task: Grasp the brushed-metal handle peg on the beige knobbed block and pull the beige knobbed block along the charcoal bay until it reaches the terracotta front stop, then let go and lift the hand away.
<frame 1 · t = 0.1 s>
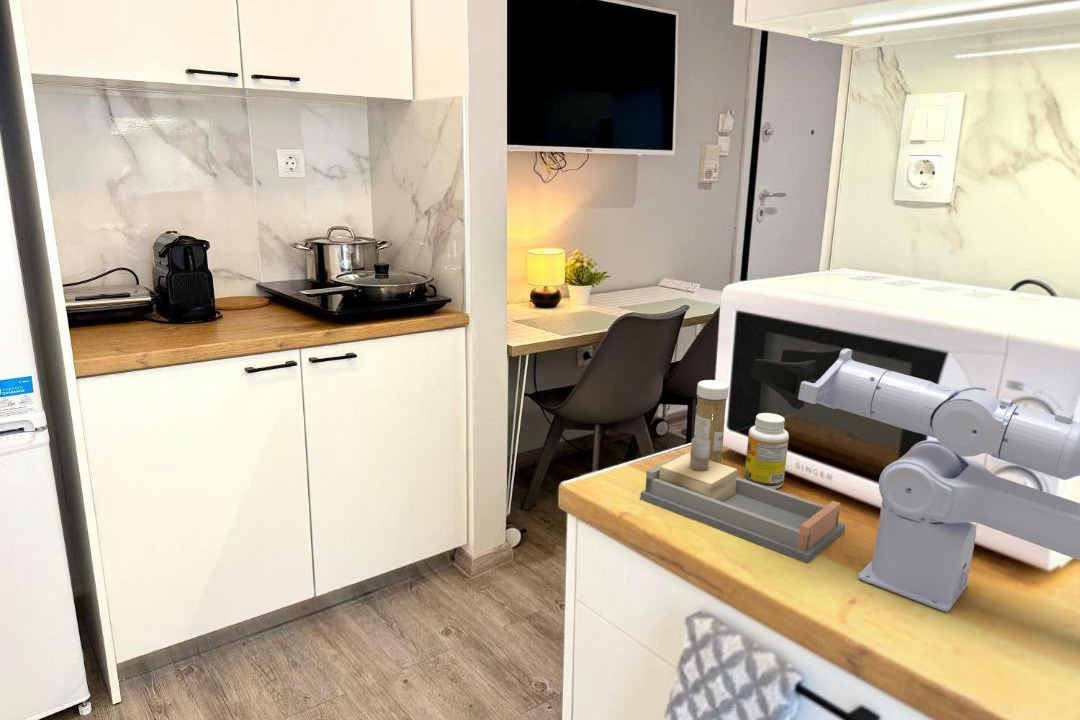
hand: (768, 362, 93), 22 cm above the worktop, tool horizontal, fingers open, 7 cm apart
supplement bottle: (763, 484, 111), on the worktop
beige knobbed block: (698, 466, 103), point 5 cm above the worktop, slide at 0.0 cm
bay: (738, 514, 100), on the worktop
brown spice jar: (705, 468, 116), on the worktop
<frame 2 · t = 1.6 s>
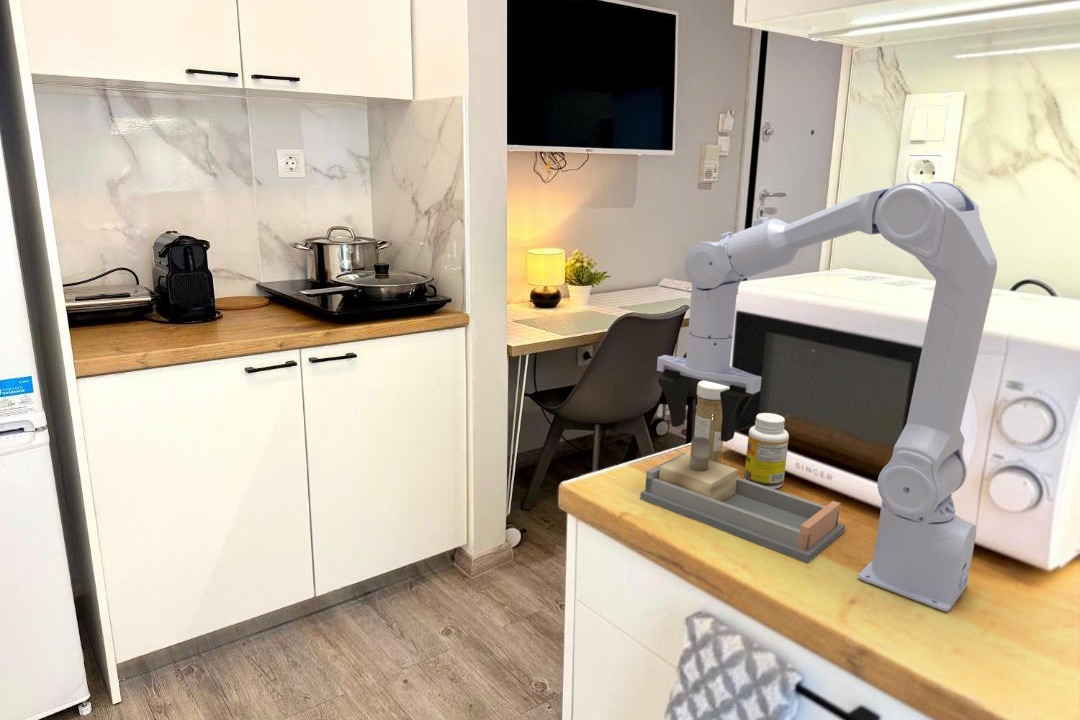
hand: (701, 432, 102), 10 cm above the worktop, tool pointing down, fingers open, 7 cm apart
nothing on the worktop moved.
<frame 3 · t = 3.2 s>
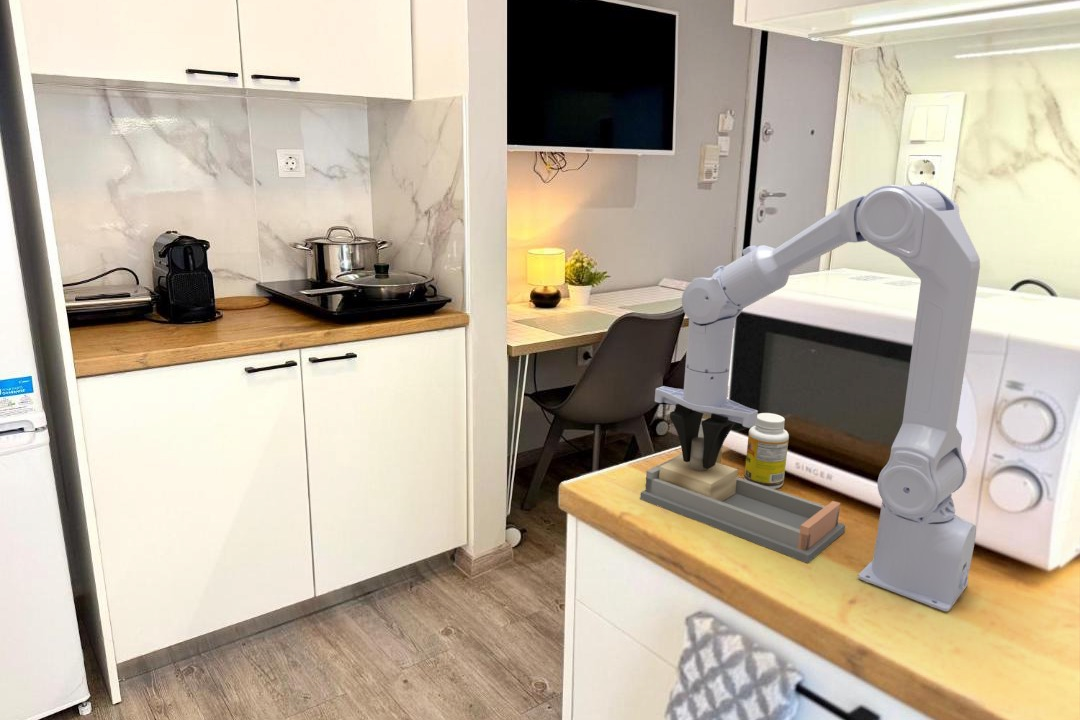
hand: (699, 463, 103), 5 cm above the worktop, tool pointing down, fingers closed on beige knobbed block, 2 cm apart
beige knobbed block: (698, 466, 103), point 5 cm above the worktop, slide at 0.0 cm, touching gripper
everything else where it was.
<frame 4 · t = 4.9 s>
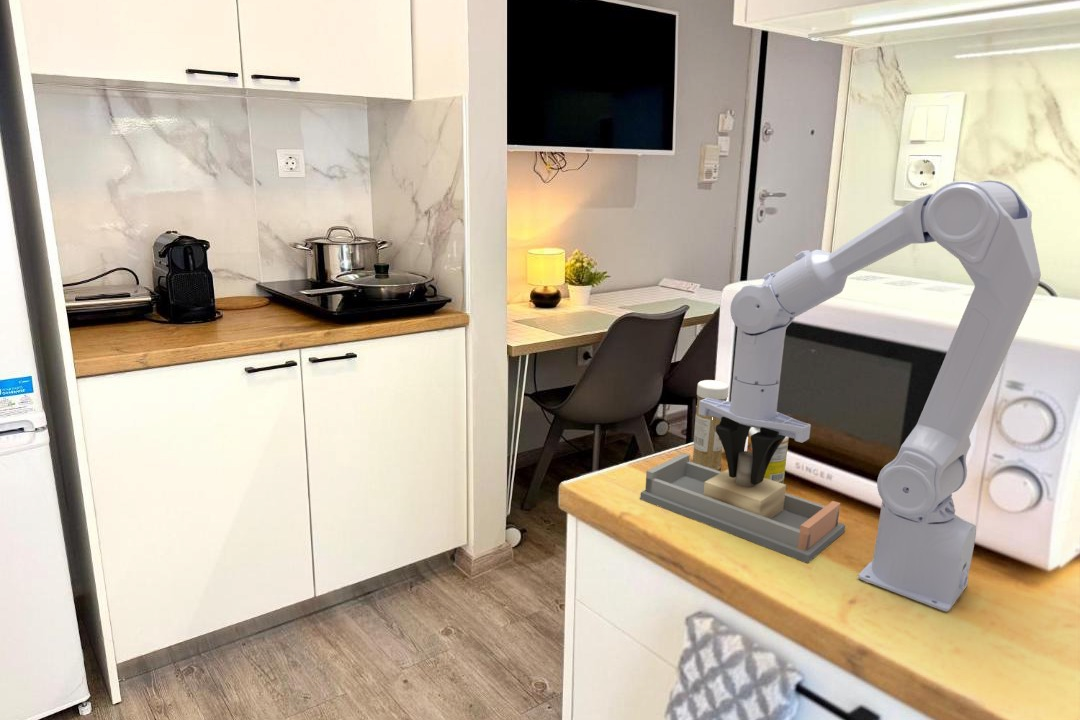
hand: (746, 478, 99), 5 cm above the worktop, tool pointing down, fingers closed on beige knobbed block, 2 cm apart
beige knobbed block: (745, 481, 99), point 5 cm above the worktop, slide at 7.0 cm, touching gripper
everything else where it was.
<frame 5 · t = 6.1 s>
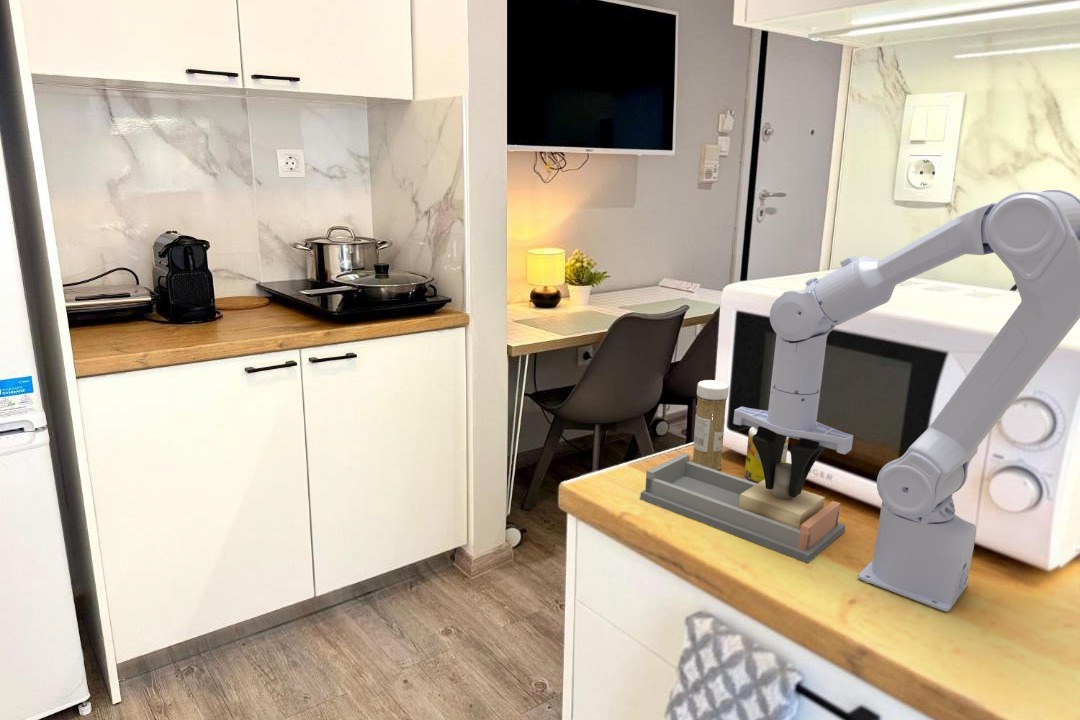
hand: (783, 490, 95), 5 cm above the worktop, tool pointing down, fingers closed on beige knobbed block, 2 cm apart
beige knobbed block: (782, 494, 95), point 5 cm above the worktop, slide at 12.2 cm, touching gripper
everything else where it was.
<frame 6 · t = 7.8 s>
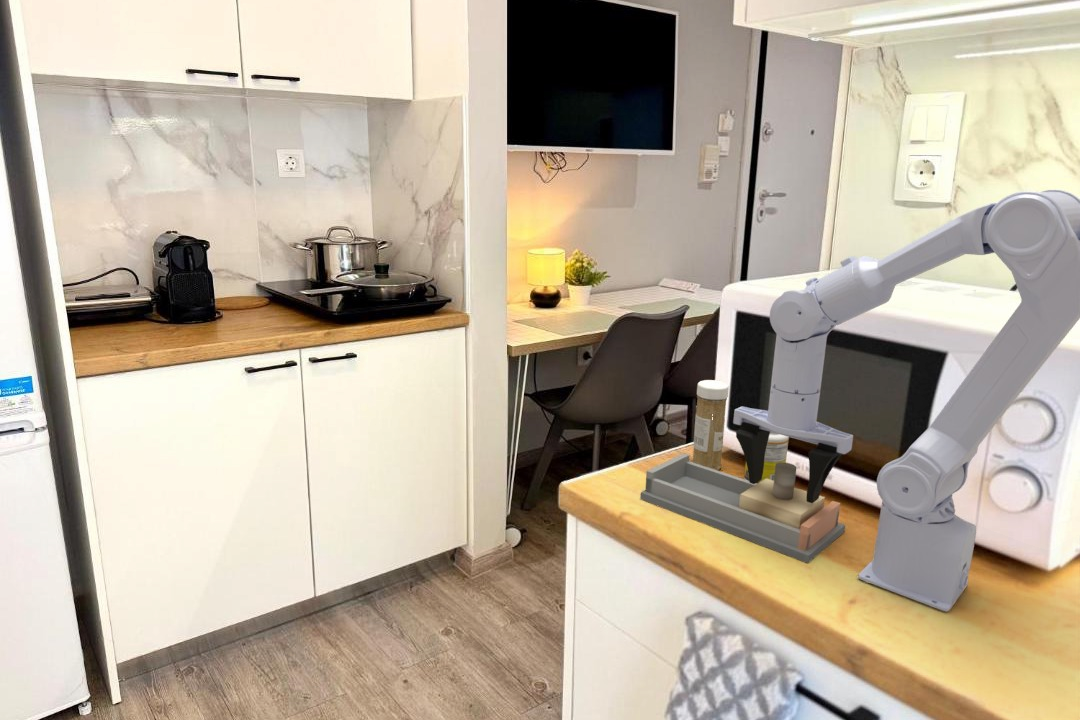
hand: (783, 490, 95), 5 cm above the worktop, tool pointing down, fingers open, 7 cm apart
beige knobbed block: (782, 494, 95), point 5 cm above the worktop, slide at 12.2 cm
everything else where it was.
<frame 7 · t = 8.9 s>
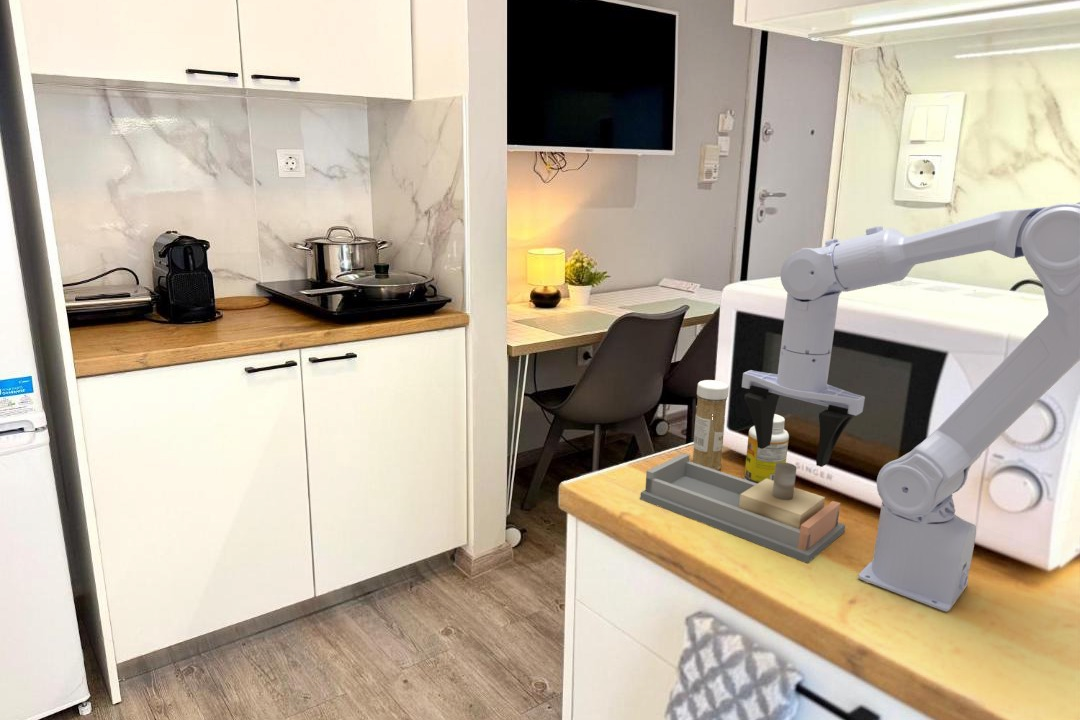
hand: (792, 454, 94), 10 cm above the worktop, tool pointing down, fingers open, 7 cm apart
nothing on the worktop moved.
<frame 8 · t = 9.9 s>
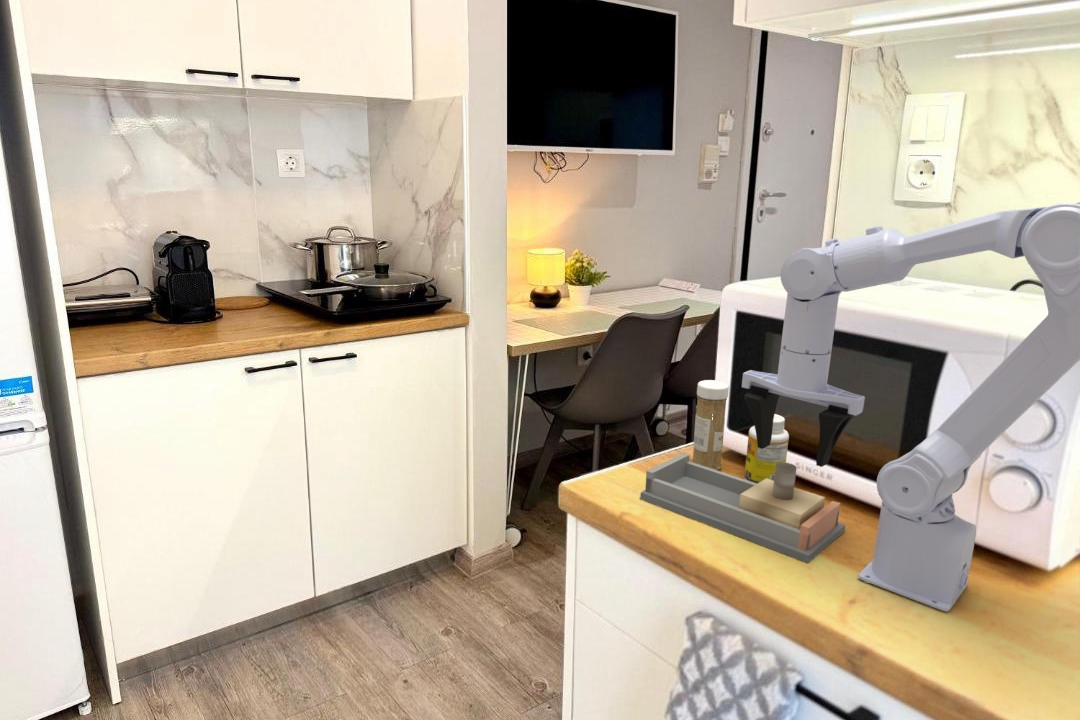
hand: (792, 454, 94), 10 cm above the worktop, tool pointing down, fingers open, 7 cm apart
nothing on the worktop moved.
at the end: beige knobbed block slide at 12.2 cm; the gripper is holding nothing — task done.
